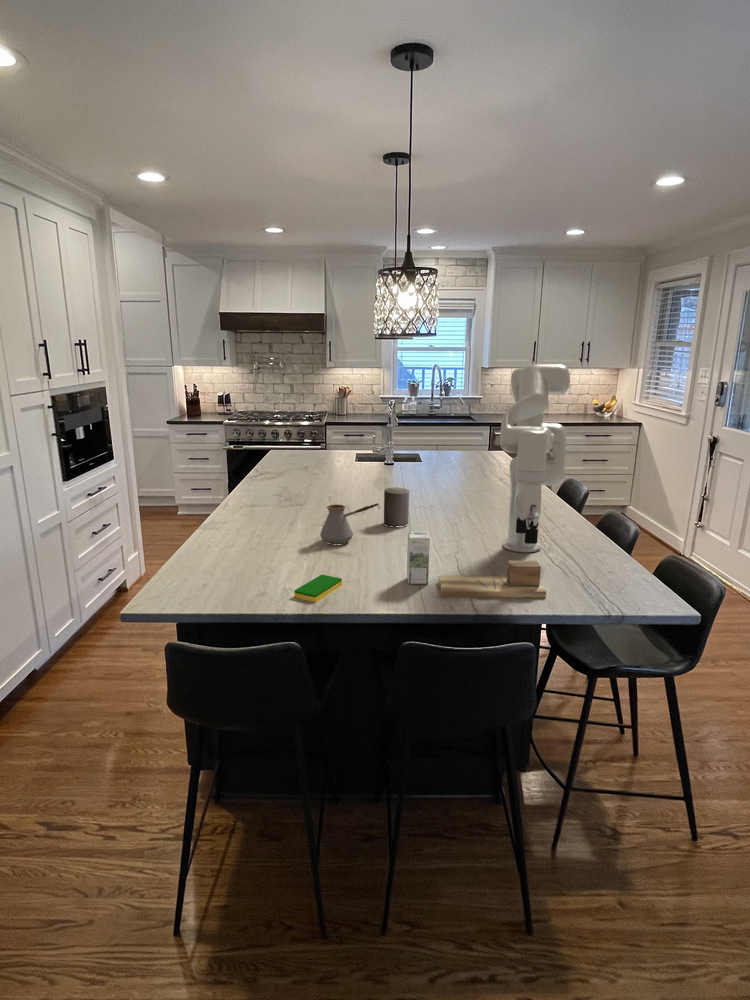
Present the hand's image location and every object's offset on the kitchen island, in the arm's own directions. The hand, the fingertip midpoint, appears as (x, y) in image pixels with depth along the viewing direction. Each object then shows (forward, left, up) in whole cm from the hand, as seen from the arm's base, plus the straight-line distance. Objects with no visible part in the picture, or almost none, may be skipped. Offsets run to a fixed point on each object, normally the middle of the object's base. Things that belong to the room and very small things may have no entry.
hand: (526, 538), depth 157 cm
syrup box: (-6, -29, -16) cm, 33 cm away
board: (0, -9, -15) cm, 18 cm away
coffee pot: (-41, -50, -16) cm, 67 cm away
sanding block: (0, 0, -14) cm, 14 cm away
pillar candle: (-64, -33, -16) cm, 74 cm away
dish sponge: (+1, -57, -16) cm, 59 cm away
